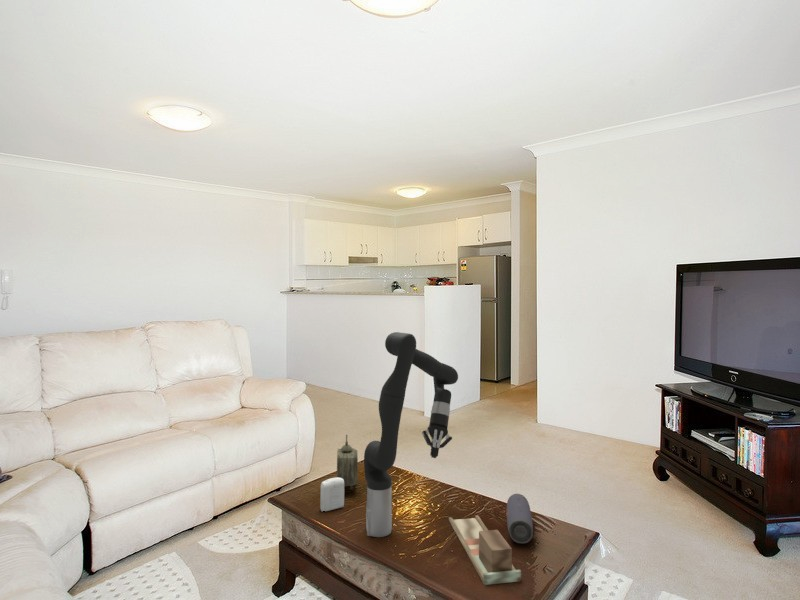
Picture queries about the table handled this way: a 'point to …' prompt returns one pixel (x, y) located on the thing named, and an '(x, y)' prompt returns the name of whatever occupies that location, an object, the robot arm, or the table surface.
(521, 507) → the bluetooth speaker
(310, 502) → the table surface
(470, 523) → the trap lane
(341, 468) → the grey-brown tall piece
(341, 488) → the photo printer
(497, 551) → the walnut block
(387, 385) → the robot arm
